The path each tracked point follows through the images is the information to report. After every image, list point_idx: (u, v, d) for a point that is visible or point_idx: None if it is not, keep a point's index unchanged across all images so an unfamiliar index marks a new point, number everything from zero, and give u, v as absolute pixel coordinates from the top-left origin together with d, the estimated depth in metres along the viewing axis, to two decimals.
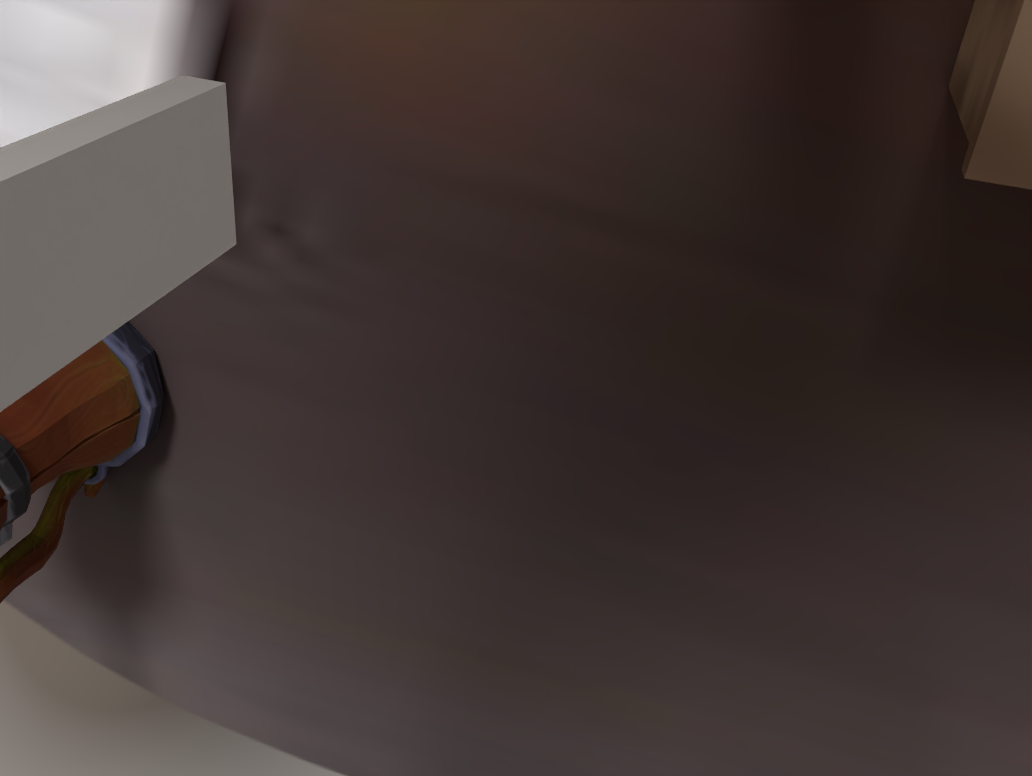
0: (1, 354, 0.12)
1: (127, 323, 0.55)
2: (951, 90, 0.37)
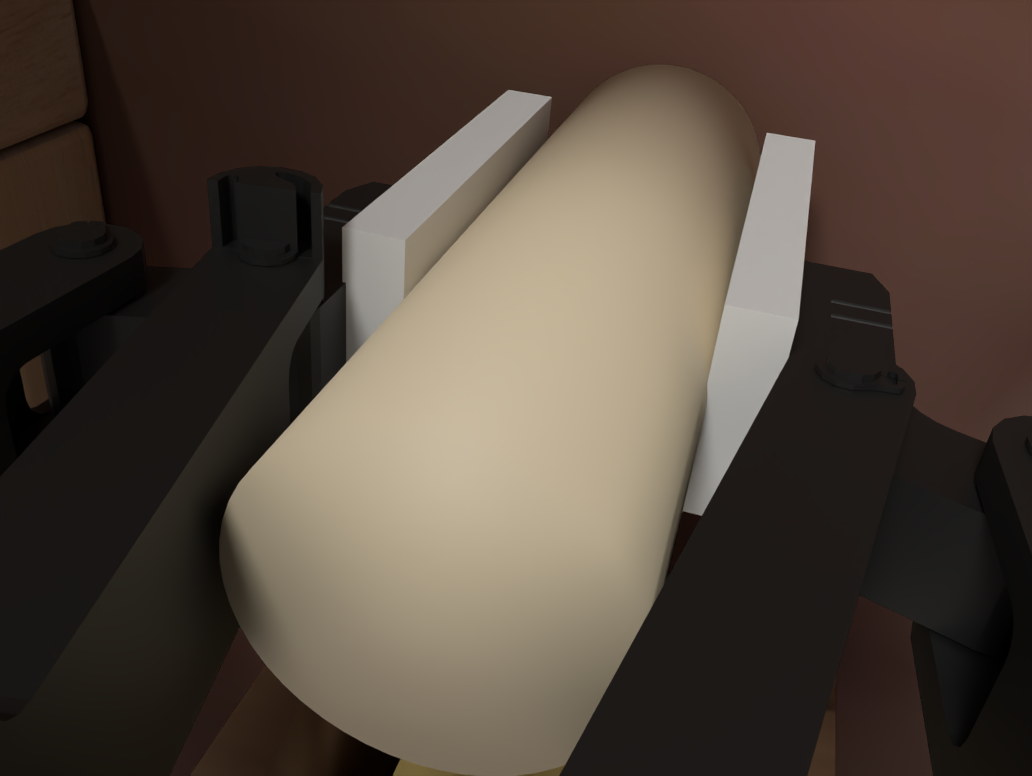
0: None
1: None
2: None
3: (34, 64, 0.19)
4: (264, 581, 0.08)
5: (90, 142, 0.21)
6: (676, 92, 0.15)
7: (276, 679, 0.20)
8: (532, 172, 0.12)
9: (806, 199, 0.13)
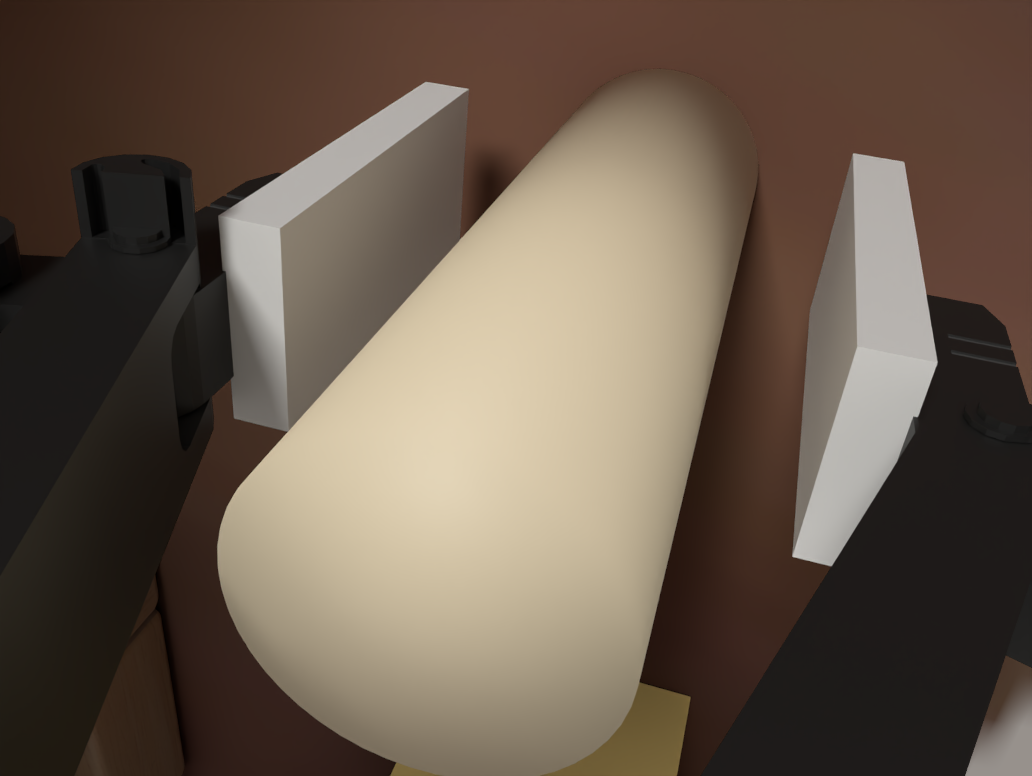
0: (326, 342, 0.13)
1: None
2: None
3: None
4: (262, 586, 0.08)
5: (159, 623, 0.28)
6: (674, 97, 0.16)
7: None
8: (530, 177, 0.13)
9: (911, 227, 0.12)
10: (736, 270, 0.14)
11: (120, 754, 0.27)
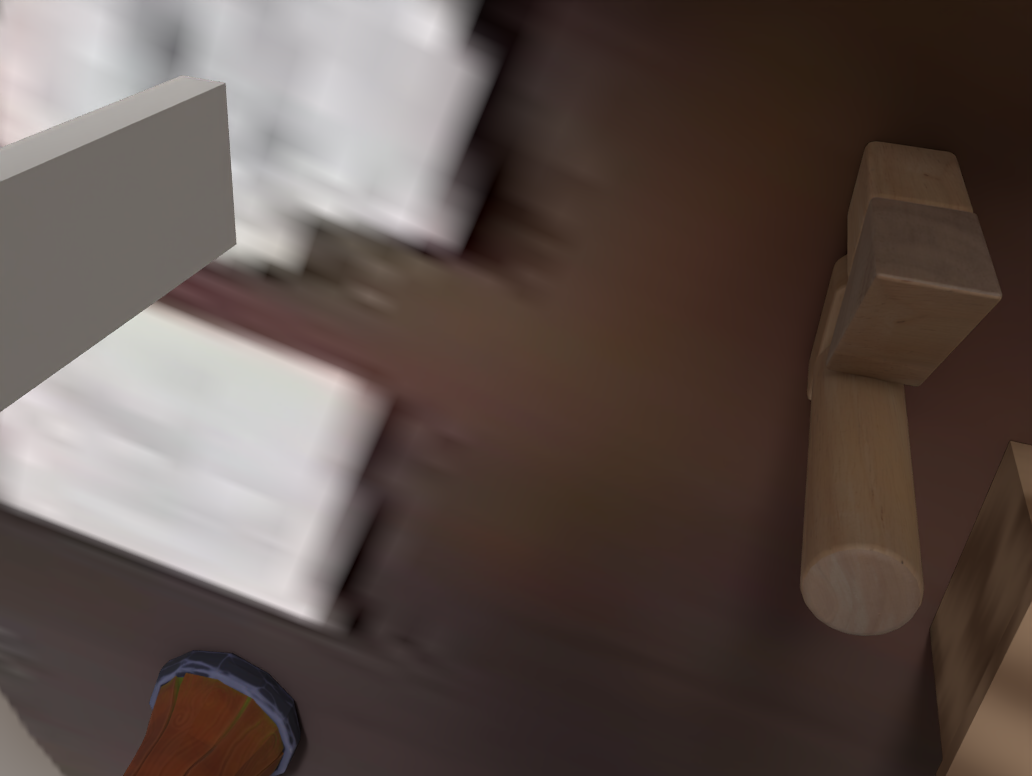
0: (1, 354, 0.12)
1: (274, 683, 0.68)
2: (931, 642, 0.50)
3: None
4: None
5: None
6: None
7: None
8: None
9: None
10: None
11: None
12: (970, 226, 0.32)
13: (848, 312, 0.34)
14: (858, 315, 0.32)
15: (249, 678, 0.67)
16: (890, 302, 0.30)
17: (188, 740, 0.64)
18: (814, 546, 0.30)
